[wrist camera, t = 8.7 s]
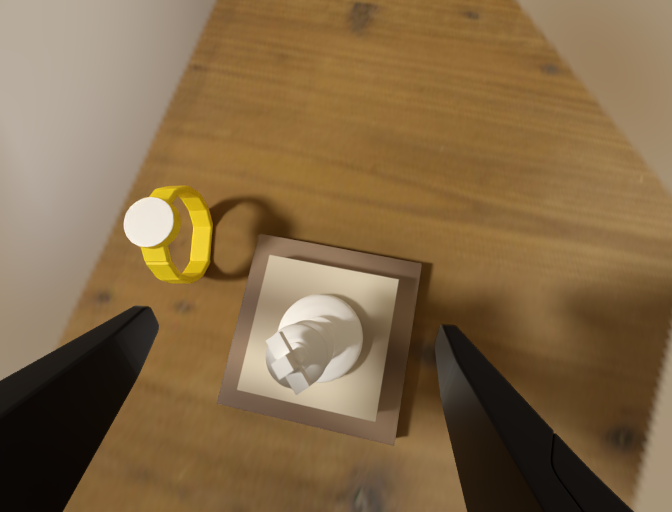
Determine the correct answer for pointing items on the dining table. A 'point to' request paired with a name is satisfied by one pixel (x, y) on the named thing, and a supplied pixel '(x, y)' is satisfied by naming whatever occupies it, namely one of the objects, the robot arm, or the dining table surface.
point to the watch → (170, 232)
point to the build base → (393, 349)
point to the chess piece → (314, 342)
